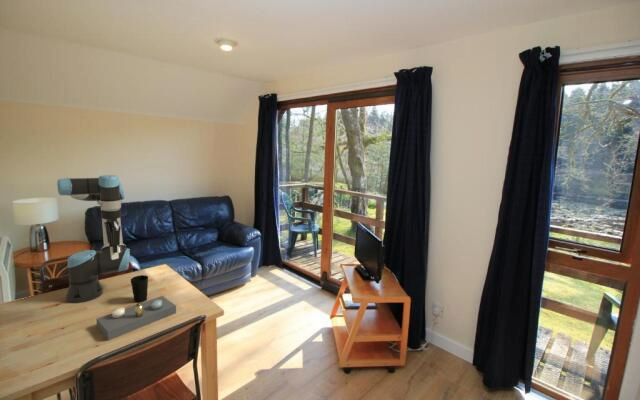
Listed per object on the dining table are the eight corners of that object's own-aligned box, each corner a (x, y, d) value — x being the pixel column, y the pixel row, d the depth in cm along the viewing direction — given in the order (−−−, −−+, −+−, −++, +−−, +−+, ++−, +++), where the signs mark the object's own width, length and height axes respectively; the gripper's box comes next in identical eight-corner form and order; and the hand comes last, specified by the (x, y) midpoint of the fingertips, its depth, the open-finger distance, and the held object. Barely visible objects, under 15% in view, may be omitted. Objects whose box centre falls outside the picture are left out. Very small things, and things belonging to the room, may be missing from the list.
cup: (141, 304, 150) (140, 282, 148) (128, 302, 152) (126, 280, 150) (152, 297, 158) (151, 276, 156) (140, 295, 159) (138, 274, 157)
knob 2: (149, 315, 141) (148, 302, 140) (159, 311, 145) (159, 298, 144) (153, 318, 138) (153, 305, 137) (164, 314, 142) (163, 302, 141)
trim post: (134, 315, 134) (133, 304, 133) (141, 313, 136) (140, 302, 135) (137, 318, 132) (136, 306, 131) (144, 315, 134) (143, 304, 133)
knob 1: (110, 323, 133) (109, 310, 132) (123, 319, 137) (122, 306, 136) (114, 327, 131) (113, 314, 129) (127, 323, 134) (126, 309, 133)
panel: (97, 326, 131) (96, 318, 130) (162, 303, 153) (162, 295, 152) (108, 340, 123) (107, 331, 122) (176, 313, 145) (175, 305, 144)
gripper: (96, 208, 137) (100, 257, 141) (106, 212, 129) (110, 264, 133) (115, 206, 143) (118, 253, 147) (126, 210, 135) (129, 260, 139)
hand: (114, 258), depth 140 cm, fingers closed
